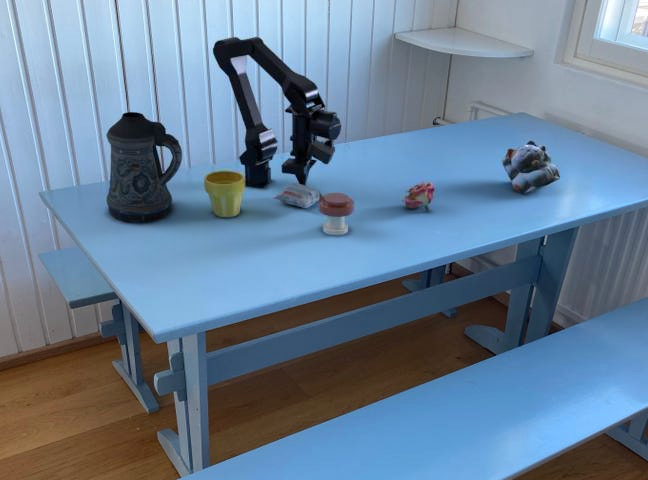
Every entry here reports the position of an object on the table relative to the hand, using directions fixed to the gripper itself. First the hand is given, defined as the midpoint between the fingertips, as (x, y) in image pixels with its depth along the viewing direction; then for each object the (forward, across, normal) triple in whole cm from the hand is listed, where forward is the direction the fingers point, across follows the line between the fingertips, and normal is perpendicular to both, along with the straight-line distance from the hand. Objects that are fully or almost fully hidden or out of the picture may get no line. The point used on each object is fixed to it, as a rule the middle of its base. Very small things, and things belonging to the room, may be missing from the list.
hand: (303, 187), depth 203 cm
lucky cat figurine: (+4, +30, -60) cm, 67 cm away
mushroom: (+2, -18, -14) cm, 23 cm away
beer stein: (+2, -23, +36) cm, 43 cm away
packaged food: (+3, -6, -1) cm, 7 cm away
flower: (+3, +3, -32) cm, 32 cm away
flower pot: (+2, -18, +16) cm, 24 cm away
